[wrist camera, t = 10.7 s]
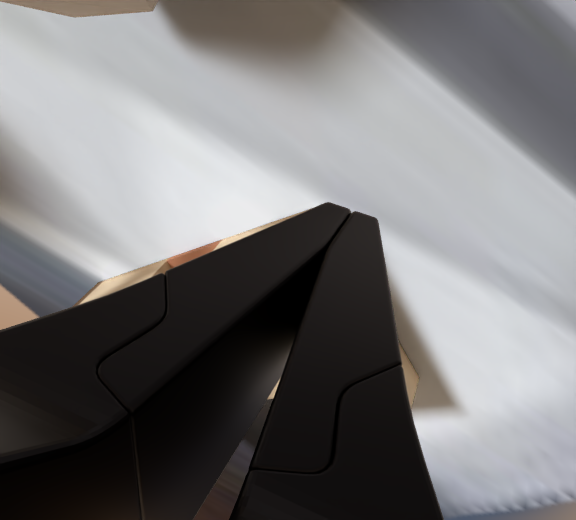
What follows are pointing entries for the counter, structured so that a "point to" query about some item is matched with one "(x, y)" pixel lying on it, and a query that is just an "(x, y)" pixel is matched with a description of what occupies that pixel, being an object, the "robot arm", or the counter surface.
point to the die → (87, 6)
